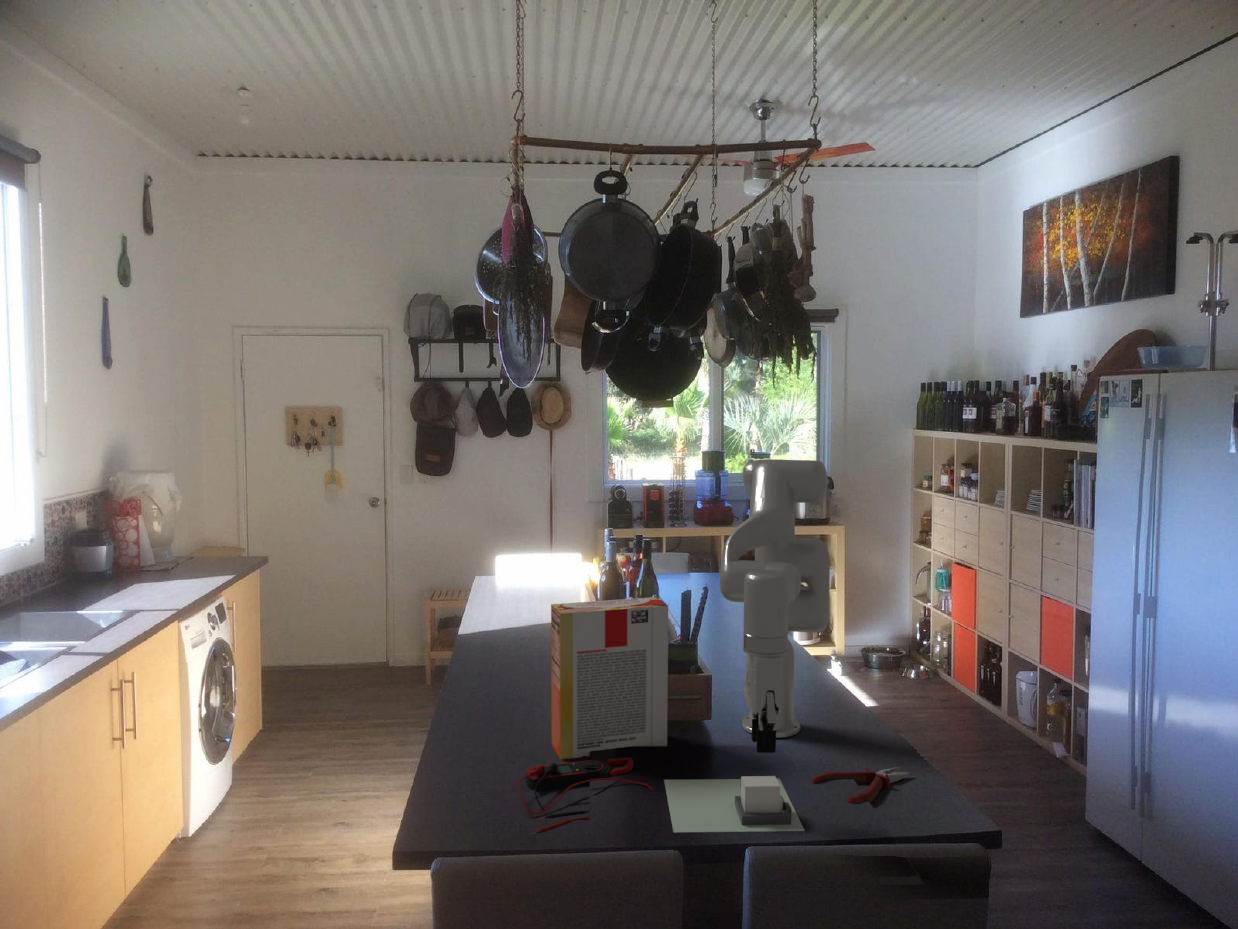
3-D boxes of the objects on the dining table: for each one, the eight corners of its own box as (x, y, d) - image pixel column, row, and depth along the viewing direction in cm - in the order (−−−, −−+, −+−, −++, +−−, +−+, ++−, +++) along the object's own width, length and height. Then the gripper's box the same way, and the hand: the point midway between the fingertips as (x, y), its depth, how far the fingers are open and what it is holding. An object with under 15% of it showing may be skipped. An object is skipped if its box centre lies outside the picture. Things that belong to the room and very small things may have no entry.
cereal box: (654, 732, 194) (655, 597, 191) (667, 746, 186) (668, 605, 184) (551, 744, 187) (551, 604, 185) (560, 759, 179) (560, 613, 177)
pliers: (929, 788, 168) (930, 774, 168) (852, 813, 158) (852, 799, 158) (883, 766, 178) (884, 753, 178) (807, 788, 168) (808, 775, 168)
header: (734, 804, 158) (734, 796, 158) (784, 803, 158) (785, 795, 158) (741, 825, 151) (741, 816, 150) (794, 824, 151) (794, 816, 151)
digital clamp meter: (506, 757, 171) (630, 743, 178) (506, 780, 171) (630, 765, 178) (528, 812, 149) (669, 793, 156) (529, 838, 149) (669, 818, 156)
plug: (740, 809, 156) (741, 776, 156) (779, 809, 156) (779, 776, 156) (744, 820, 152) (745, 786, 152) (784, 820, 152) (784, 786, 152)
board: (663, 785, 168) (663, 776, 168) (779, 783, 169) (779, 775, 169) (673, 838, 148) (673, 828, 148) (804, 836, 149) (804, 827, 149)
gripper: (735, 629, 160) (734, 728, 162) (752, 657, 144) (750, 767, 145) (777, 629, 160) (775, 728, 162) (798, 657, 144) (795, 767, 145)
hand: (763, 745), depth 154 cm, fingers open, 3 cm apart
